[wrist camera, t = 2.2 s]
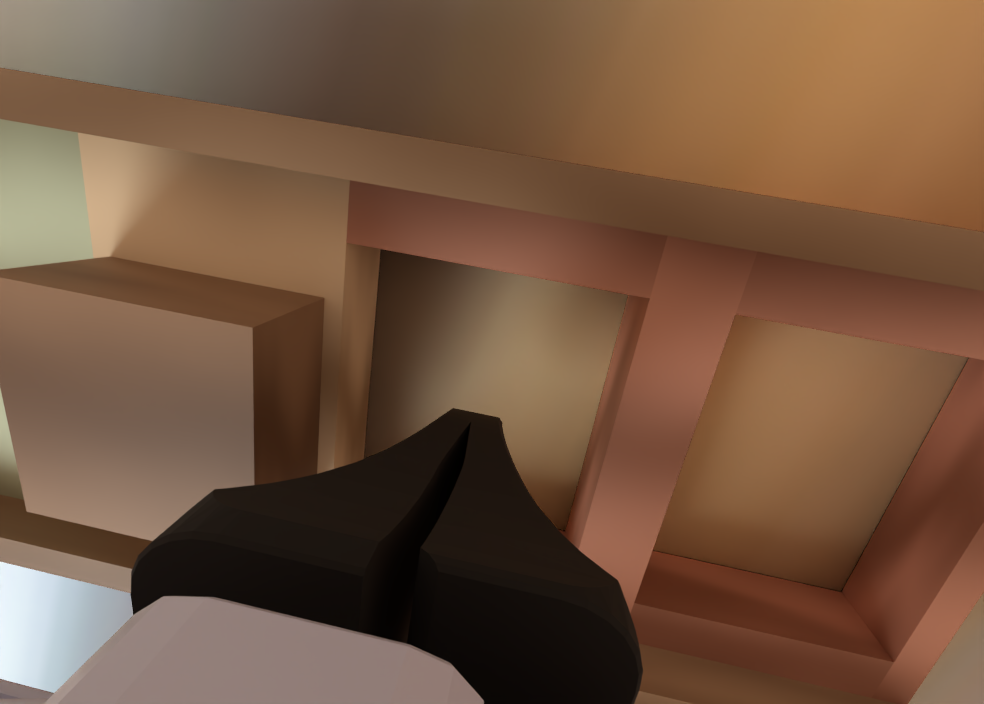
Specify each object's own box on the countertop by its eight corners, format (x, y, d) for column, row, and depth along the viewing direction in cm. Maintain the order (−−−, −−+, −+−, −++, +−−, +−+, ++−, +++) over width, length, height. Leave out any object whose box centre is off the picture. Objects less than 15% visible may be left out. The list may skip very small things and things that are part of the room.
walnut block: (316, 490, 14) (255, 565, 11) (132, 449, 14) (26, 511, 11) (324, 297, 12) (252, 328, 9) (110, 256, 12) (-24, 272, 9)
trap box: (841, 651, 16) (929, 787, 12) (23, 464, 18) (-115, 532, 14) (1067, 260, 12) (1316, 287, 8) (-59, 69, 14) (-293, 18, 10)
